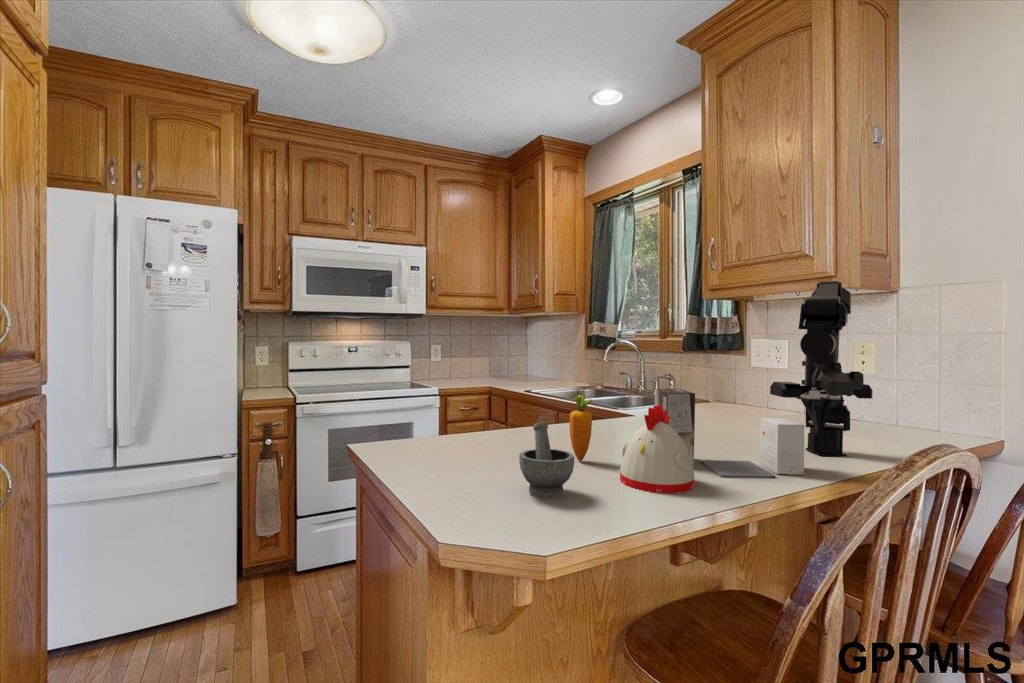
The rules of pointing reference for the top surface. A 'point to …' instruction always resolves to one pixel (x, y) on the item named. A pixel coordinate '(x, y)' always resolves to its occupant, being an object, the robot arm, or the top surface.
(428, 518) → the top surface
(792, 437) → the small box
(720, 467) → the mat
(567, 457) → the mortar and pestle
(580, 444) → the carrot
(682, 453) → the kitchen timer
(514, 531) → the top surface
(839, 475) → the top surface
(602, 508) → the top surface
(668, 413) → the coffee box
